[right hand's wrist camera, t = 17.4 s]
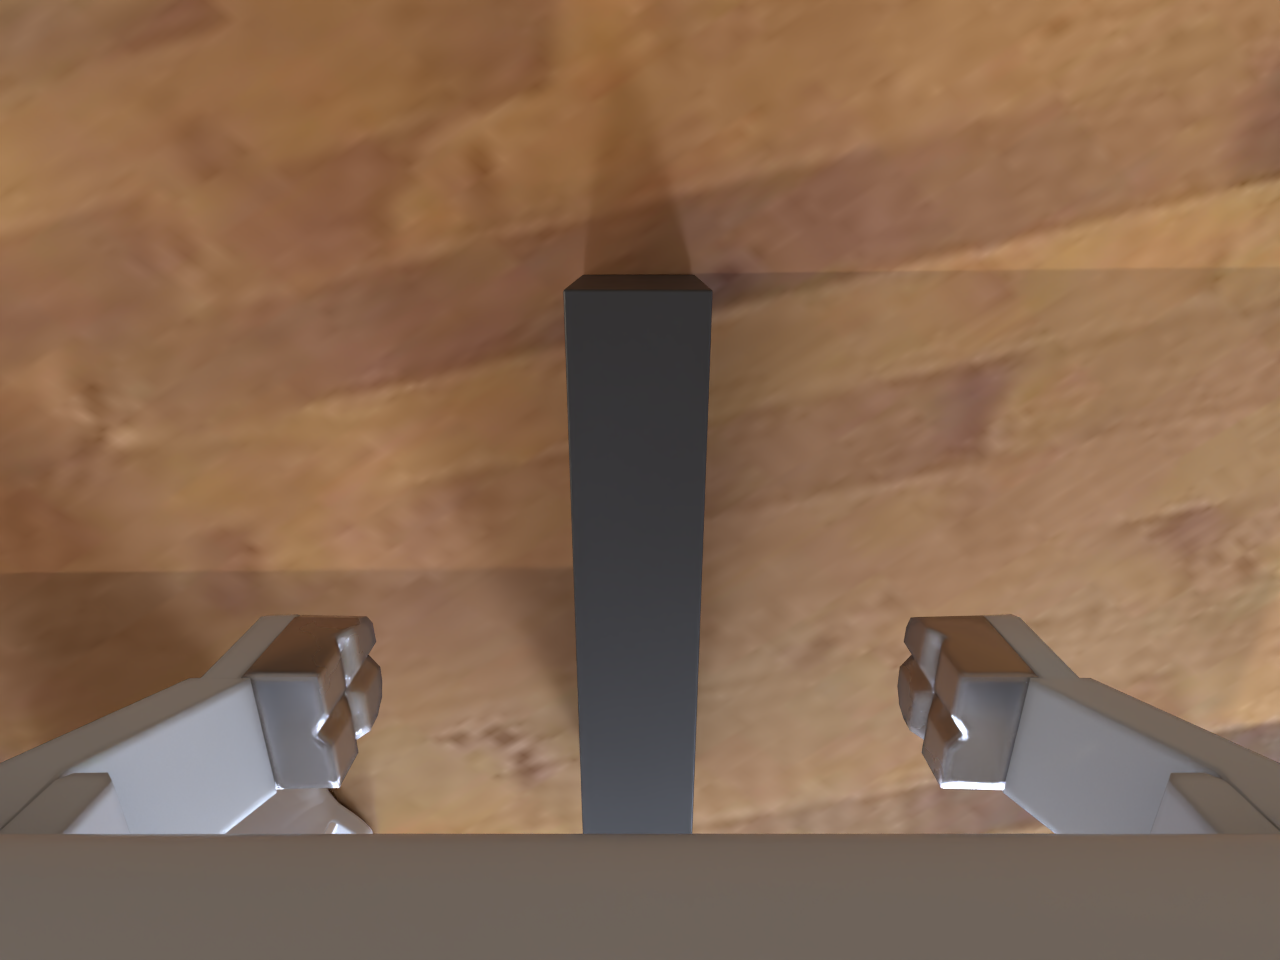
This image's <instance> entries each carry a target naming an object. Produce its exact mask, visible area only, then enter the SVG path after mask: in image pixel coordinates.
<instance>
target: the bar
mask: <svg viewBox="0 0 1280 960" xmlns="http://www.w3.org/2000/svg"><path fill="white" fill-rule="evenodd" d="M563 295H564V322H565V350H566V378H567V406H568V434H569V461H570V489H571V517H572V545H573V573H574V600H575V628H576V656H577V684H578V712H579V739H580V767H581V795H582V823H583V834H692V824H693V798H694V771H695V744H696V718H697V691H698V664H699V638H700V611H701V584H702V558H703V531H704V504H705V478H706V451H707V425H708V398H709V371H710V345H711V318H712V290H711V289H710V288H709V287H707V286H706V285H705V284H704V283H703V282H702V281H701V280H699V279H698V278H697V277H696V276H695V275H582V276H581V277H580V278H578V279H577V280H576V281H575V282H573V283H572V284H571V285H570V286H568V287H567V288H566V289H565V290H564V291H563Z"/></svg>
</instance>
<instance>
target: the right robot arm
mask: <svg viewBox="0 0 1280 960" xmlns="http://www.w3.org/2000/svg"><path fill="white" fill-rule="evenodd" d="M375 643H376V638H375V633H374V628H373V623H372V622H371V621H370V620H369V618H368V617H367V616H322V615H302V616H300V615H268V616H263V617H261V618H260V619H259V620H258V621H257V622H256V623H255V624H254V625H253V626H252V627H251V628H250V629H249V630H248V631H247V632H246V633H245V634H244V635H243V636H242V637H241V638H240V639H239V640H238V641H237V642H236V643H235V644H234V645H233V646H232V647H231V648H230V649H229V650H228V651H227V652H226V653H225V654H224V655H223V656H222V657H221V658H220V659H219V660H218V661H217V662H216V663H215V664H214V665H213V666H212V667H211V668H210V669H209V670H208V671H207V672H206V673H205V674H204V675H203V676H202V677H201V678H189V679H186V680H184V681H182V682H180V683H178V684H175V685H173V686H171V687H169V688H166V689H164V690H162V691H160V692H158V693H155V694H153V695H151V696H149V697H146V698H144V699H142V700H140V701H138V702H135V703H133V704H131V705H129V706H126V707H124V708H122V709H120V710H118V711H115V712H113V713H111V714H109V715H106V716H104V717H102V718H100V719H97V720H95V721H93V722H91V723H89V724H86V725H84V726H82V727H80V728H77V729H75V730H73V731H71V732H69V733H66V734H64V735H62V736H60V737H57V738H55V739H53V740H51V741H49V742H46V743H44V744H42V745H40V746H37V747H35V748H33V749H31V750H29V751H26V752H24V753H22V754H20V755H17V756H15V757H13V758H11V759H9V760H6V761H4V762H2V763H0V960H1280V763H1278V762H1275V761H1273V760H1271V759H1269V758H1267V757H1264V756H1262V755H1260V754H1258V753H1255V752H1253V751H1251V750H1249V749H1247V748H1244V747H1242V746H1240V745H1238V744H1235V743H1233V742H1231V741H1229V740H1227V739H1224V738H1222V737H1220V736H1218V735H1216V734H1213V733H1211V732H1209V731H1207V730H1204V729H1202V728H1200V727H1198V726H1196V725H1193V724H1191V723H1189V722H1187V721H1184V720H1182V719H1180V718H1178V717H1176V716H1173V715H1171V714H1169V713H1167V712H1165V711H1162V710H1160V709H1158V708H1156V707H1153V706H1151V705H1149V704H1147V703H1145V702H1142V701H1140V700H1138V699H1136V698H1133V697H1131V696H1129V695H1127V694H1125V693H1122V692H1120V691H1118V690H1116V689H1113V688H1111V687H1109V686H1107V685H1105V684H1102V683H1100V682H1098V681H1096V680H1094V679H1091V678H1079V677H1078V676H1077V675H1076V674H1075V673H1074V672H1073V671H1072V670H1071V669H1070V668H1069V667H1068V666H1067V665H1066V664H1065V663H1064V662H1063V661H1062V660H1061V659H1060V658H1059V657H1058V656H1057V655H1056V654H1055V653H1054V652H1053V651H1052V650H1051V649H1050V648H1049V647H1048V646H1047V645H1046V644H1045V643H1044V642H1043V641H1042V640H1041V639H1040V638H1039V637H1038V636H1037V635H1036V634H1035V633H1034V632H1033V631H1032V630H1031V628H1030V627H1029V626H1028V625H1027V624H1026V623H1025V622H1024V621H1023V620H1022V619H1021V618H1019V617H1017V616H1014V615H1011V614H1007V615H982V616H945V617H913V618H910V620H909V623H908V625H907V627H906V632H905V638H904V643H905V644H906V646H907V648H908V649H909V651H910V652H911V654H912V655H911V656H910V657H909V658H908V659H907V660H906V661H905V662H904V663H903V664H902V665H901V666H900V670H899V678H898V696H899V705H900V708H901V712H902V715H903V718H904V720H905V722H906V724H907V726H908V728H909V730H910V731H912V732H913V733H915V734H916V735H918V736H919V737H921V738H922V739H924V742H923V748H922V754H923V756H924V758H925V759H926V761H927V763H928V765H929V767H930V769H931V770H932V772H933V774H934V776H935V778H936V780H937V781H938V783H939V785H940V787H941V788H971V789H1003V793H1005V794H1006V795H1007V796H1008V797H1010V798H1011V799H1012V800H1013V801H1015V802H1016V803H1017V804H1018V805H1020V806H1021V807H1022V808H1024V809H1025V810H1026V811H1027V812H1029V813H1030V814H1031V815H1032V816H1034V817H1035V818H1036V819H1037V820H1039V821H1040V822H1041V823H1042V824H1044V825H1045V826H1046V827H1048V828H1049V829H1050V830H1051V831H1053V832H1054V833H1055V834H373V832H372V830H371V828H370V827H369V826H368V824H366V823H365V822H364V821H363V820H362V819H361V818H359V817H358V816H357V815H355V814H354V813H353V812H351V811H350V810H348V809H347V808H345V807H344V806H343V805H341V804H340V803H338V801H337V800H336V799H335V798H334V797H333V796H332V794H331V793H330V792H329V790H328V789H327V788H339V787H340V785H341V783H342V781H343V780H344V778H345V776H346V774H347V772H348V770H349V769H350V767H351V765H352V763H353V761H354V759H355V758H356V756H357V754H358V748H357V742H356V739H358V738H359V737H361V736H362V735H364V734H365V733H367V732H368V731H370V730H371V728H372V726H373V724H374V722H375V720H376V718H377V716H378V712H379V707H380V703H381V699H382V676H381V669H380V666H379V665H378V664H377V663H376V662H375V661H374V660H373V659H372V658H371V657H370V656H369V655H368V654H369V652H370V651H371V649H372V648H373V646H374V644H375Z"/></svg>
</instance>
